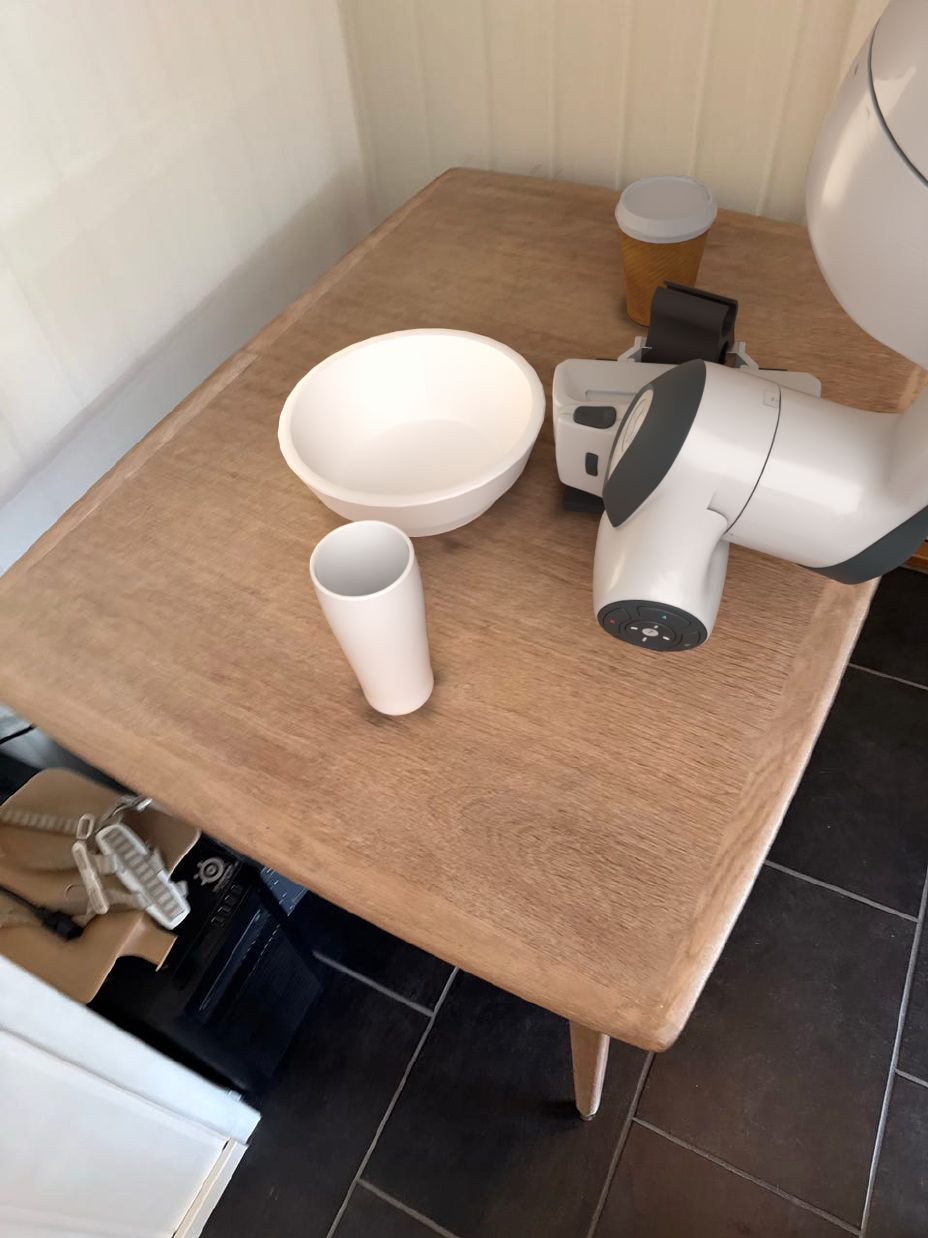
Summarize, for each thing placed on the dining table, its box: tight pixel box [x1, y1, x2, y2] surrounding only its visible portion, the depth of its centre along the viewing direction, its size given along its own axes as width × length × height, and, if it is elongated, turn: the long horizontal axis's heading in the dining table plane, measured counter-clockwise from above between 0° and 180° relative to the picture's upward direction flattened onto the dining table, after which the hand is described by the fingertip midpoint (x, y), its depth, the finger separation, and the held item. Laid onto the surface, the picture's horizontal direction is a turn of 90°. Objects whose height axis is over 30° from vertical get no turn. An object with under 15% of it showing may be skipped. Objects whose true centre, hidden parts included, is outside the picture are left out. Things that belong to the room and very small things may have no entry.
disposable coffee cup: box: [614, 173, 718, 327], centre depth 87 cm, size 10×10×12 cm
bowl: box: [277, 327, 547, 538], centre depth 76 cm, size 22×22×8 cm
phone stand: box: [641, 280, 739, 365], centre depth 72 cm, size 9×6×12 cm, turn 143°
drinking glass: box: [308, 520, 435, 716], centre depth 60 cm, size 7×7×15 cm
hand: (688, 345), depth 72 cm, fingers closed on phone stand, 6 cm apart
